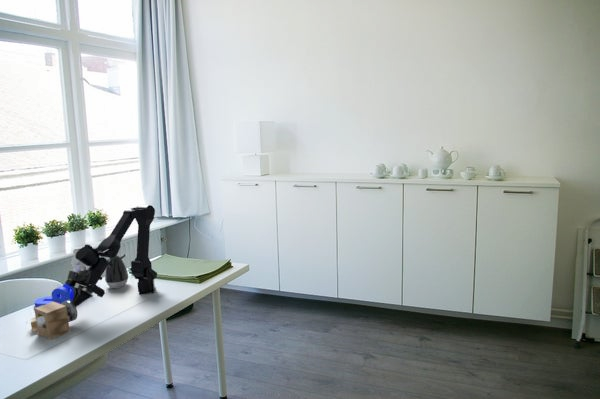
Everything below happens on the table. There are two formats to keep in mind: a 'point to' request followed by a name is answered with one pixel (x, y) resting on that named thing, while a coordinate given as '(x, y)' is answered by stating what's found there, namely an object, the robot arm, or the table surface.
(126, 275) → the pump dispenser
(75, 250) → the plastic bottle
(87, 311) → the table surface
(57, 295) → the bracket
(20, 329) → the table surface
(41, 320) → the shaft
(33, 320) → the spacer block
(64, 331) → the bearing block
